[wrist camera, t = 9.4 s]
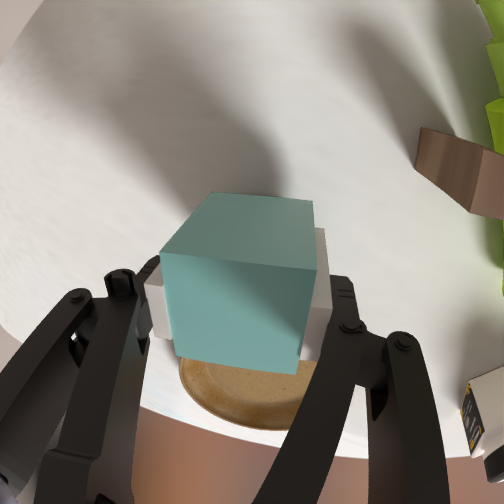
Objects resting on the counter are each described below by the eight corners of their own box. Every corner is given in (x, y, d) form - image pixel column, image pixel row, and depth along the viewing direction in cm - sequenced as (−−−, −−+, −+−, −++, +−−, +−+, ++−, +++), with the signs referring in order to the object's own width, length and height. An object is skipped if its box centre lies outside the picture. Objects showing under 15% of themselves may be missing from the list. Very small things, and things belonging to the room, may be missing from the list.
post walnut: (457, 137, 14) (526, 165, 8) (450, 177, 15) (512, 223, 9) (421, 127, 14) (483, 149, 8) (414, 169, 15) (469, 212, 9)
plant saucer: (229, 270, 21) (220, 292, 19) (386, 352, 23) (391, 375, 20) (168, 371, 28) (160, 391, 26) (291, 424, 30) (289, 443, 28)
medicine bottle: (466, 379, 23) (494, 477, 13) (519, 357, 21) (555, 444, 10) (459, 411, 26) (476, 495, 16) (506, 391, 24) (531, 469, 13)
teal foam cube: (312, 200, 15) (316, 270, 9) (301, 285, 18) (295, 374, 12) (212, 191, 16) (159, 251, 10) (213, 275, 18) (175, 355, 12)
